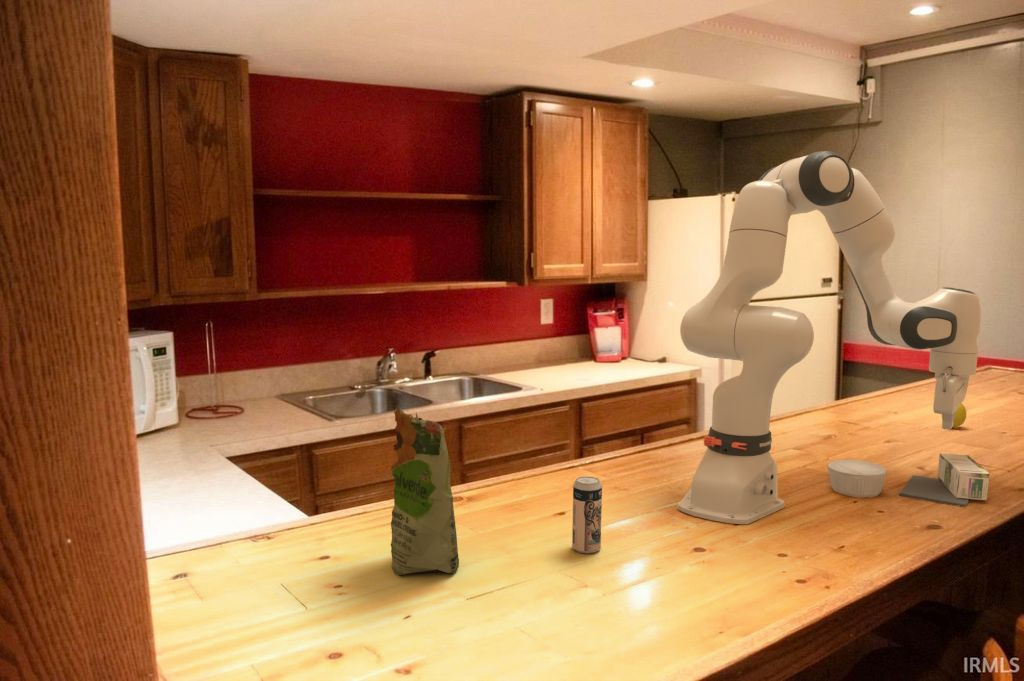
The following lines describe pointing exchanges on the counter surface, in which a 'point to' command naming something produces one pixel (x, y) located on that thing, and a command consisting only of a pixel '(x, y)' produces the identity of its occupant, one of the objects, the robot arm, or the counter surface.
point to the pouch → (422, 499)
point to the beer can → (587, 515)
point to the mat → (930, 491)
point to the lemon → (959, 416)
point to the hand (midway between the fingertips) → (947, 428)
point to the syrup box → (963, 476)
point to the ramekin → (856, 478)
